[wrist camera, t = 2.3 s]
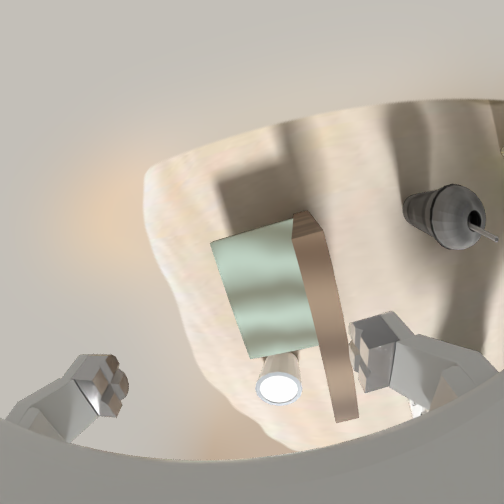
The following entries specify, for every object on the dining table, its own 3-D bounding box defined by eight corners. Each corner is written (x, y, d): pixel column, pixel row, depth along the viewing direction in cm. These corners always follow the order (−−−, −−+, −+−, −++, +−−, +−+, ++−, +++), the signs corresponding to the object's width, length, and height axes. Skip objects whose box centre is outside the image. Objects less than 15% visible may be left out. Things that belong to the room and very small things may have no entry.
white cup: (254, 354, 43) (247, 379, 37) (293, 341, 42) (291, 366, 35) (271, 384, 44) (267, 410, 37) (308, 372, 43) (309, 399, 36)
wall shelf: (333, 313, 40) (359, 417, 19) (258, 331, 42) (225, 436, 21) (307, 210, 37) (323, 230, 16) (226, 233, 40) (152, 277, 19)
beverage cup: (442, 202, 34) (532, 214, 14) (422, 243, 36) (504, 283, 16) (407, 175, 34) (491, 166, 15) (386, 218, 36) (460, 243, 17)
